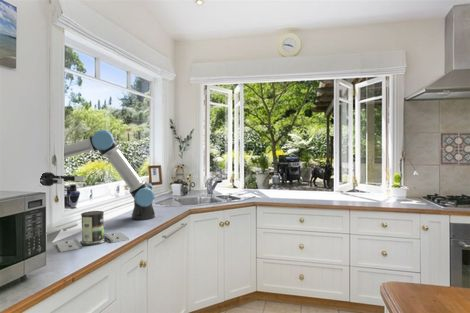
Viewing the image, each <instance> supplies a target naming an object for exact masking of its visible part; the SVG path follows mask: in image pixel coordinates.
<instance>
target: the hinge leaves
mask: <svg viewBox="0 0 470 313" xmlns="http://www.w3.org/2000/svg"><path fill="white" fill-rule="evenodd" d="M129 239H130V237H129V236H127V235H126V234H124V233H123V232H122V231H118V232H111V233H104V240H103V241H101V242H98V243H92V244H85V243H82V240H81V241H79V240H78V239H77V238H73V239H68V240H63V241H57V242H55V246H57V248H58V251H59V252H60V253H63V252H67V251H73V250H80V249H82V248H83V246H85V247H87V246H89V247H91V246H98V245H102V244H105V243H106V242H109V243H110V244H111V243H117V242H118V243H119V242H123V240H124V241H129Z"/></svg>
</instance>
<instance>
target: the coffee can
mask: <svg viewBox="0 0 470 313" xmlns="http://www.w3.org/2000/svg"><path fill="white" fill-rule="evenodd" d="M80 217H81V241H82V243H85V244H92V243H98V242H101V241H103V240H104V234H105V228H104V226H105V225H104V224H105V222H104V221H105V219H104V211H102V210H92V211H91V210H90V211H85V212H82V213H80Z"/></svg>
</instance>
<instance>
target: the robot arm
mask: <svg viewBox="0 0 470 313" xmlns="http://www.w3.org/2000/svg"><path fill="white" fill-rule="evenodd" d="M64 146H65V147H64V158H65V159H67V158H71V157H74V156H78V155H80V154H85V153H88V152H91V151H93V152H97V151H98V152H99V153H100V155H101V156H102V157H105V158H106V159H107V160H108V161H109V163H110V164H111V165H112V167H113V168H114V169H115V171H116V172H117V173H118V174H119V176H120V178H121V179H122V180H123V181H124V183H125V185H127V188H129V191H128V192H129V194H130V195H131V196H132V198H133V201H134V202H133V204H134V205H133V210H132V213H131V219H132V220H137V221H143V220H144V221H146V220H151V219H154V218H156V212H155V209H154V208H153V202H154V200H155V197H156V196H155V192H154V190H153V185H152V183H151V182H149V183H148V182H147V181H145V180H142V179H141V177H140V175H139V174H137V172H136V170H135V169H134V168H133V167H132V165H131V164H130V162H129V161H128V159H127V158H126V157H125V155H124V154H123V153H122V151H121V150H120V148H119V147H120V144H119V143H118V142H117V140H116V139H115V137H114V135H113V134H112V132H110V131H108V130H106V129H100V130H99V129H98V131H96V132H94V134H92V136H88V138H87V139H84V140H80V141H76V142H72V143H69V144H66V145H64ZM44 172H45V173H43V174H42V176H41V178H40V183H41V184H42V185H43V186H45V187H51V186H53V185H64V184H65V183H64V182H72V181H74V182H86V180H85V179H86V178H85V176H83V175H80V176H79V175H77V174H74V175H55V174H54V173H53V172H48V171H47V172H46V171H44ZM43 186H42V187H43Z"/></svg>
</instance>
